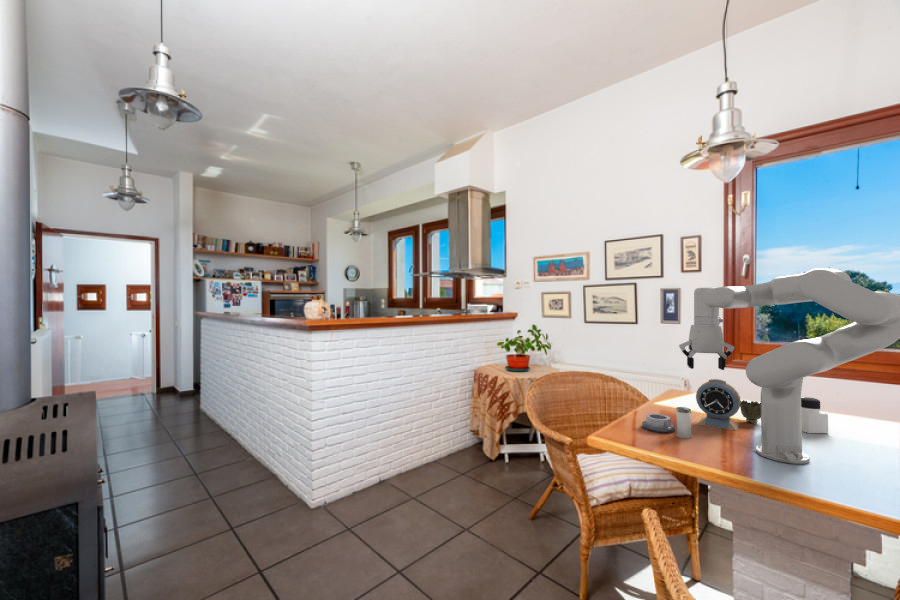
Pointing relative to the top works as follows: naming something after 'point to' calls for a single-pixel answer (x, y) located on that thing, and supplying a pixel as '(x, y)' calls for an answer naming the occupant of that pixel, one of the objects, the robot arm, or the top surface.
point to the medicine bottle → (813, 416)
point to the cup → (751, 411)
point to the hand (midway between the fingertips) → (706, 368)
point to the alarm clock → (718, 404)
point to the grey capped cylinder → (683, 422)
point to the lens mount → (658, 423)
